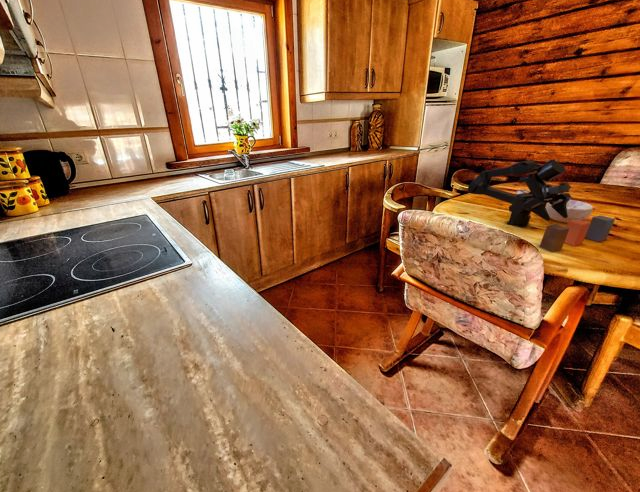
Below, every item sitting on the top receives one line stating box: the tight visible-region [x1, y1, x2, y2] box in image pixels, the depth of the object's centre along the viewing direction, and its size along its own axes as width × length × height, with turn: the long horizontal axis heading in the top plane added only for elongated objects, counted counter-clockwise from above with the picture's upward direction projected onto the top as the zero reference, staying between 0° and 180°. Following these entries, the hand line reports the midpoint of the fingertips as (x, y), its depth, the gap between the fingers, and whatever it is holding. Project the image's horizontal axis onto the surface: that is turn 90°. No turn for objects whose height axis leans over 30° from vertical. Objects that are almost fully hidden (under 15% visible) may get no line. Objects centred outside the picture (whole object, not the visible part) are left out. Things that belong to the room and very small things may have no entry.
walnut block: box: [539, 223, 570, 253], centre depth 104 cm, size 4×4×9 cm
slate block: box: [584, 215, 616, 243], centre depth 109 cm, size 4×4×9 cm
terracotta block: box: [564, 219, 591, 247], centre depth 107 cm, size 4×4×9 cm
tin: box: [515, 189, 532, 195], centre depth 147 cm, size 15×3×8 cm, turn 168°
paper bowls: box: [545, 199, 594, 224], centre depth 128 cm, size 15×15×8 cm
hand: (557, 219), depth 112 cm, fingers open, 9 cm apart
